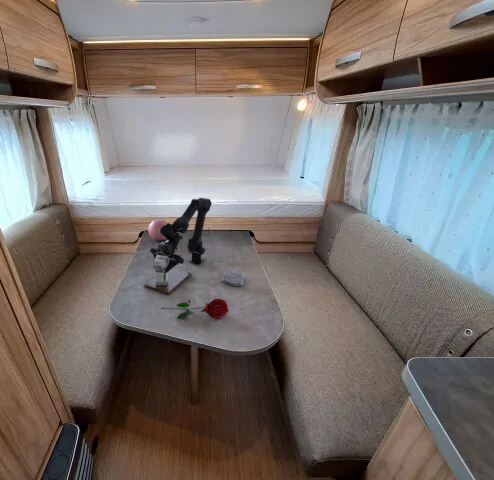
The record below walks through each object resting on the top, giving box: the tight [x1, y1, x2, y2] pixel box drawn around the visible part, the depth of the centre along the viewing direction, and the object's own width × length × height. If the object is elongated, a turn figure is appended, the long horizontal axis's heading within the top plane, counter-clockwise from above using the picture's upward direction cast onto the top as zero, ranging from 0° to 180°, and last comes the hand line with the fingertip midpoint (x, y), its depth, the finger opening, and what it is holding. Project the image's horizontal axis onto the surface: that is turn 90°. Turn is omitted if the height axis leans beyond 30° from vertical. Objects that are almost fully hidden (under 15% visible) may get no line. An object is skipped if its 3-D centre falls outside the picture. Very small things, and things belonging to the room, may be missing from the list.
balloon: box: [147, 218, 168, 242], centre depth 194 cm, size 15×20×15 cm
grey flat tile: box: [144, 267, 192, 296], centre depth 143 cm, size 22×15×2 cm
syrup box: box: [154, 255, 169, 286], centre depth 135 cm, size 6×6×14 cm
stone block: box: [221, 269, 246, 287], centre depth 142 cm, size 12×5×10 cm
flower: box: [160, 297, 230, 320], centre depth 115 cm, size 9×10×30 cm
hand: (159, 270), depth 133 cm, fingers closed on syrup box, 7 cm apart
